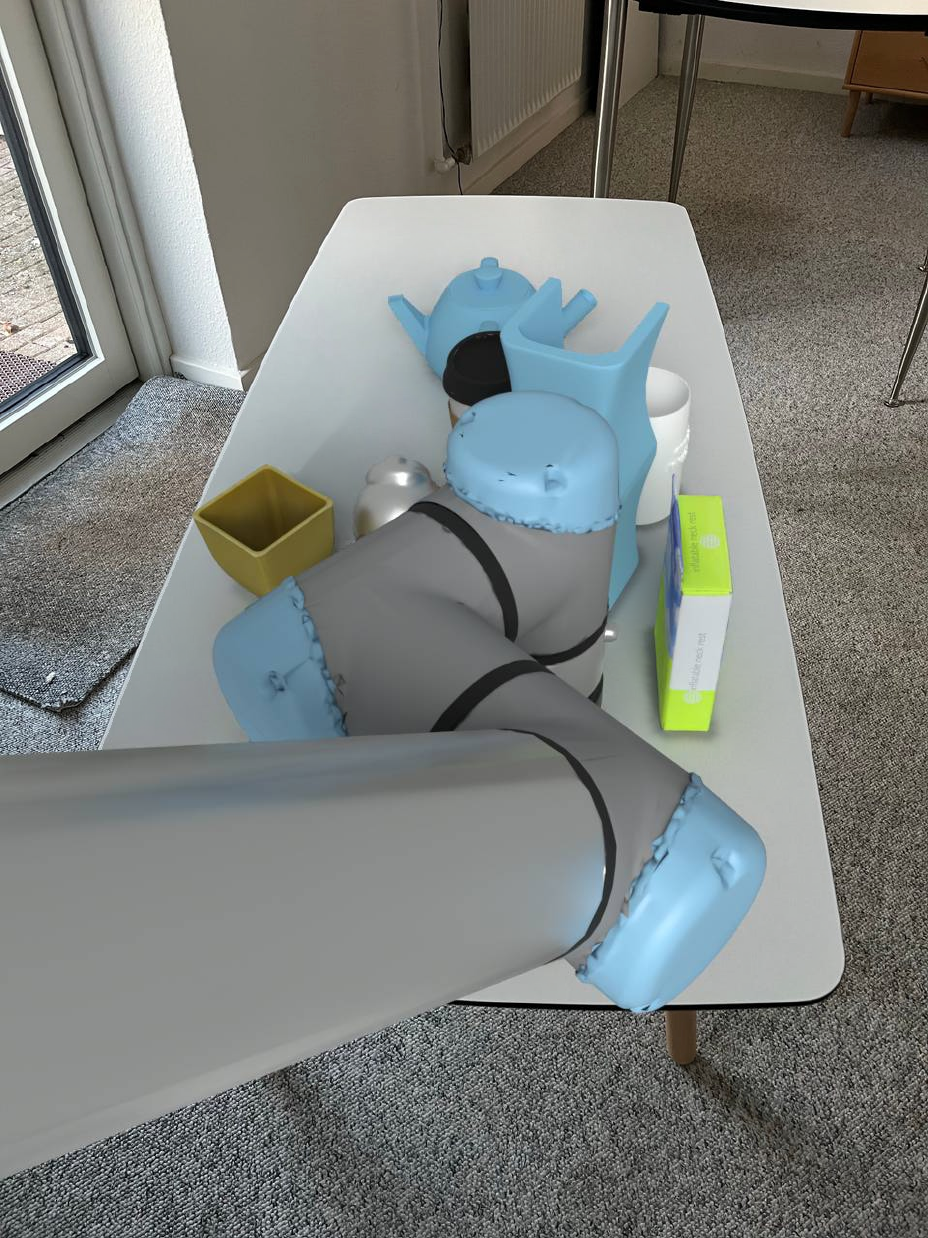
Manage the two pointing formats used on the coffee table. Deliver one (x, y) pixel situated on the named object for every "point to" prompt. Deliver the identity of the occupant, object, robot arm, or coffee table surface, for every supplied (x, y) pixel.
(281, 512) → the flower pot
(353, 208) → the coffee table surface
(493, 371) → the coffee cup
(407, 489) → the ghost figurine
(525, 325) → the blue doll chair
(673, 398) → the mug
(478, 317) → the teapot
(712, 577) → the box
